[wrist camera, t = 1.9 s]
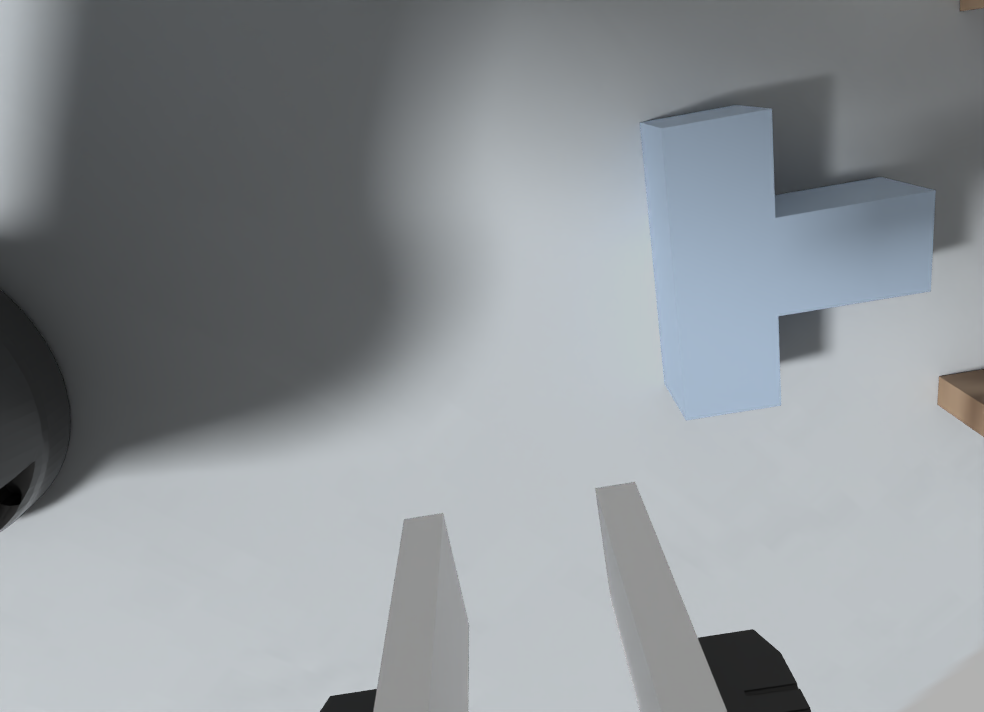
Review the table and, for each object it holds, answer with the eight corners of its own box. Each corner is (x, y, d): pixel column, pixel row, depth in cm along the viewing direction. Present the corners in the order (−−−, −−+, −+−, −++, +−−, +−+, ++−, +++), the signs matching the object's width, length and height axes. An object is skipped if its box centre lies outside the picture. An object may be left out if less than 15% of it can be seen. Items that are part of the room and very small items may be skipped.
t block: (664, 383, 34) (686, 420, 30) (639, 122, 30) (661, 128, 26) (877, 348, 34) (925, 382, 30) (883, 78, 29) (941, 78, 26)
